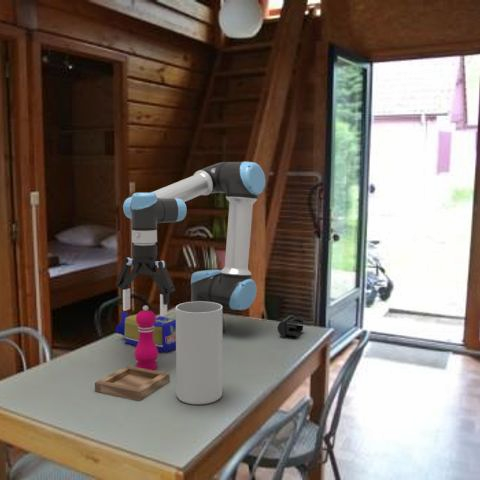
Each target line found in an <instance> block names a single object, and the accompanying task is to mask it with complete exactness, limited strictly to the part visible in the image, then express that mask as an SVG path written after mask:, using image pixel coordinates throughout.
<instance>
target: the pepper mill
mask: <svg viewBox="0 0 480 480" xmlns="http://www.w3.org/2000/svg"><path fill="white" fill-rule="evenodd" d="M136 314H137V316H136V322H137V324H138V325H139V326H138V331H139V341H138V344H137V346H135V350H134V358H135V360H136V361H137V362H136V364H135V367H137V368H143V369H148V370H153V371H156V369H157V367H158V365H157V359H158V357H159V352H158V350H157V347H156V345H155V343H154V340H153V330H154V325H153V324H154V322H155V320H156V317H155V315H156V314H155V313H154V312H153V311H152V310H149V306H148V305H146V304H145V305H143V307H142V310H140V311H139V312H138V313H136Z"/></svg>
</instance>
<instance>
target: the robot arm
mask: <svg viewBox="0 0 480 480" xmlns="http://www.w3.org/2000/svg"><path fill="white" fill-rule="evenodd" d="M265 188H266V176H265V172H264V169H262V167H261V166H260V165H259V164H258V163H257V162H254V161H253V162H252V161H222V162H218V163H215V164H212V165H209V166H206V167H204V168H202V169H199V170H197V171H195V172H194V173H193V175H191V176H189V177H187V178H184V179H181V180H178V181H177V182H173V183H172V184H169V185H167V186H164V187H161V188H158V189H157V190H154V191H151V192H135V193H134V192H133V194H132V195H131V197H130V196H129V197H127V198H126V199H125V200H124V202H123V205H122V209H123V213H124V215H125V216H126V218H128V219H130V220H131V243H133V244H132V245H131V256H132V257H126V258H124V259H123V263H122V264H123V265H122V268H121V269H120V272H119V275H118V277H117V280H116V282H115V286H116V287H117V288H119V289H120V295H121V296H120V299H121V300H122V310H123V312H126V311H128V310H129V311H130V310H131V288H130V285H132V283H133V281H135V279H136V278H137V276H138V275H145V276H146V275H147V276H149V277H150V278H152V280H153V282H154V283H155V284H156V286H157V287H158V289H159V290H160V291H161V293H160V294H159V303H160V304H159V313H160V314H159V316H161V317H164V316H165V315H168V305H169V304H170V294H171V293H173V292H174V293H175V291H176V288H175V286H174V283H173V280H172V278H171V276H170V274H169V271H168V268H167V262H166V260H160V261H158V260H157V256H158V245H157V243H158V224H162V223H176V222H181V221H183V220H184V219H185V218H186V216H187V212H188V211H187V205H186V203H185V202H188V201H190V200H193V199H195V198H197V197H200V196H208V195H210V194H218V193H219V194H225V198H226V200H227V201H228V202H229V204H228V206H229V207H228V219H227V221H228V222H227V232H226V245H225V258H224V267H223V268H222V269H207V270H198V271H194V272H193V273H192V274H191V281H190V295H191V296H190V298H191V299H190V302H196V301H204V302H214V303H218V304H220V305H222V308H227V309H231V310H234V311H237V310H238V311H244V310H247V309H249V308H250V307H252V306H251V305H252V304H253V303H254V301H255V299H256V298H257V292H258V285H256V282H255V281H254V280H253V279H252V272H251V271H250V270H249V260H250V244H251V242H250V241H251V232H252V220H253V219H252V218H253V208H254V207H253V205H254V204H255V202H256V201H258V196H259V195H260V194H262V193H263V192H264V190H265ZM132 266H133V268H132V269H131V267H132ZM130 269H131V270H130ZM129 272H130V273H129ZM226 322H227V321H226V320H225V316H224V314H223V312H222V333H224V332H225V331H226V329H227V323H226Z"/></svg>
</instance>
